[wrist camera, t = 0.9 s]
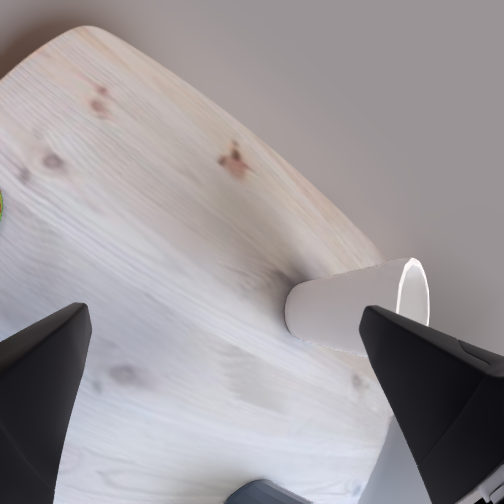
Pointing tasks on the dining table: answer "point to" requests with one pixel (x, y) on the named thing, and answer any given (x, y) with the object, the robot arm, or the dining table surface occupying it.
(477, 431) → the robot arm
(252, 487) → the cup
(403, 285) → the foam cup
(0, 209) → the egg
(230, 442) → the dining table surface
